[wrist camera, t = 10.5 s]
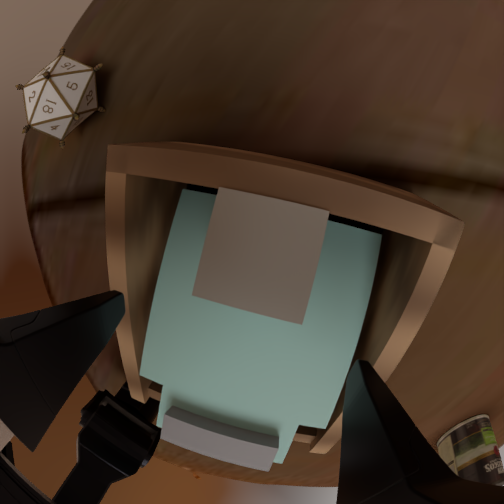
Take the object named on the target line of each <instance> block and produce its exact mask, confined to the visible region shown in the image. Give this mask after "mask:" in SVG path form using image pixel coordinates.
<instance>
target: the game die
mask: <svg viewBox="0 0 504 504" xmlns="http://www.w3.org/2000/svg"><path fill="white" fill-rule="evenodd" d="M64 52H65V49H64V47H63V46H62V48H61V49H60V56H59V57H57V58H56V59H55V60H54V61H52V62H51V63H50V64H49V65H48V66H46V67H45V68H44V69H43V70H41V71H40V72H39V73H38V74H37V75H35V76H34V77H33V78H32V79H31V80H30V81H29V82H28V83H27V84H26V85H25V86H23V85H20V84H19V85H16V88H17V90H18V89H19V90H20V89H22V90H23V97H24V105H25V111H26V117H27V123H28V125H27V126H25V127H24V128H23V132H22V133H27V131H29V128H32V129H34V130H37V131H39V132H42V133H44V134H47V135H49V136H51V137H54V138H56V139H59V140H60V143H59V144H60V147H61V148H62V149H63V148H64V145H65V144H64V143H65V142H64V138H65V137H66V136H68V135H69V134H70V133H71V132H72V131H73V130H74V129H75V128H76V127H77V126H79V125H80V124H81V123H82V122H83V121H84V120H85V119H87V118H88V117H89V116H90V115H91V114H93V113H94V112H95V111H96V110H98V111H99V112H104V111H105V109H104V107H102V106H101V107H98V98H97V87H96V71H97V70H99V69H101V67H102V65H103V64H97V65H96V66H95V67H94V68H92V67H90V66H88V65H86V64H83V63H81V62H79V61H77V60H75V59H72V58H70V57H68V56H65V55H64Z"/></svg>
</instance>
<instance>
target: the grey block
mask: <svg viewBox="0 0 504 504" xmlns="http://www.w3.org/2000/svg"><path fill="white" fill-rule="evenodd" d="M329 212H330V211H326V210H322V209H318V208H314V207H310V206H306V205H302V204H298V203H293V202H289V201H285V200H280V199H276V198H271V197H266V196H262V195H257V194H252V193H247V192H242V191H237V190H232V189H227V188H222V187H219V189H218V193H217V196H216V200H215V204H214V207H213V211H212V215H211V218H210V222H209V226H208V230H207V234H206V238H205V242H204V246H203V250H202V254H201V258H200V262H199V266H198V270H197V274H196V279H195V283H194V287H193V292H192V295H193V296H196V297H199V298H202V299H206V300H209V301H213V302H216V303H220V304H223V305H227V306H230V307H234V308H237V309H241V310H245V311H248V312H252V313H256V314H260V315H264V316H267V317H271V318H275V319H279V320H283V321H287V322H292V323H296V324H300V325H302V323H303V320H304V316H305V313H306V309H307V305H308V302H309V298H310V294H311V290H312V286H313V282H314V278H315V274H316V270H317V266H318V262H319V258H320V253H321V249H322V244H323V240H324V235H325V231H326V226H327V221H328V217H329Z"/></svg>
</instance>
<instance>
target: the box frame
mask: <svg viewBox="0 0 504 504" xmlns="http://www.w3.org/2000/svg"><path fill="white" fill-rule="evenodd" d="M187 183H189V184H195V185H200V186H206V187H211V188H217V189H219V187H222V188H227V189H232V190H237V191H242V192H247V193H252V194H257V195H262V196H266V197H271V198H276V199H280V200H285V201H289V202H293V203H298V204H302V205H306V206H310V207H314V208H318V209H322V210H326V211H330V212H329V214H333V215H337V216H341V217H345V218H349V219H352V220H356V221H360V222H363V223H367V224H370V225H374V226H377V227H381V228H384V230H383V233H382V239H381V245H380V251H379V256H378V262H377V267H376V271H375V276H374V281H373V285H372V290H371V294H370V298H369V302H368V306H367V310H366V314H365V318H364V321H363V325H362V329H361V332H360V336H359V339H358V342H357V346H356V349H355V352H354V355H353V358H352V361H351V364H350V367H349V370H348V373H347V376H348V374H349V372H350V370H351V369H352V367H353V365H354V363H355V362H356V361H357V360H358V359H361V360H367V361H369V362H370V364H371V365H372V366H373V368H374V369H375V370H376V372H377V373H378V374H379V376H380V377H381V378H382V380H383V381H384V382H386V381H387V379H388V378H389V376H390V375H391V373H392V372H393V371H394V369H395V368H396V366H397V364H398V363H399V361H400V360H401V358H402V357H403V355H404V354H405V352H406V350H407V349H408V347H409V345H410V344H411V342H412V340H413V339H414V337H415V335H416V333H417V332H418V330H419V328H420V326H421V324H422V323H423V321H424V319H425V317H426V315H427V313H428V311H429V309H430V307H431V305H432V303H433V301H434V299H435V297H436V295H437V293H438V291H439V289H440V287H441V284H442V282H443V280H444V278H445V275H446V273H447V271H448V268H449V266H450V263H451V261H452V258H453V256H454V253H455V250H456V248H457V245H458V242H459V239H460V237H461V234H462V231H463V228H464V224H465V222H463V221H462V220H460V219H458V218H457V217H455V216H453V215H452V214H450V213H448V212H447V211H445V210H443V209H441V208H439V207H438V206H436V205H434V204H432V203H430V202H429V201H427V200H425V199H423V198H421V197H419V196H417V195H415V194H413V193H411V192H408V191H405V190H402V189H399V188H396V187H393V186H390V185H387V184H384V183H380V182H377V181H374V180H371V179H367V178H364V177H360V176H357V175H353V174H350V173H346V172H342V171H339V170H335V169H331V168H327V167H323V166H319V165H315V164H310V163H306V162H302V161H297V160H292V159H288V158H283V157H278V156H273V155H268V154H262V153H257V152H251V151H245V150H239V149H233V148H226V147H219V146H211V145H204V144H195V143H186V142H176V141H168V142H139V143H122V144H110V145H108V149H107V163H106V185H105V226H106V249H107V263H108V274H109V284H110V291H112V290H117V291H119V292H122V293H123V294H124V299H125V308H126V311H125V315H124V317H123V318H122V320H121V322H120V323H119V325H118V326H117V328H116V333H117V338H118V343H119V348H120V353H121V358H122V362H123V367H124V371H125V375H126V379H127V383H128V387H129V390H130V394H131V397H132V398H134V399H136V400H138V401H140V402H142V403H144V404H145V403H146V402H147V400H148V398H149V397H151V398H154V399H156V400H158V401H160V400H161V394H162V388H163V385H162V384H159V383H157V382H154V381H152V380H150V379H147V378H145V377H143V376H141V375H140V368H141V361H142V355H143V349H144V343H145V338H146V332H147V327H148V322H149V317H150V312H151V307H152V302H153V298H154V293H155V289H156V284H157V280H158V276H159V272H160V268H161V264H162V260H163V256H164V252H165V248H166V244H167V241H168V237H169V233H170V230H171V226H172V223H173V219H174V216H175V212H176V209H177V206H178V202H179V199H180V196H181V193H182V190H183V189H186V188H187ZM347 376H346V379H345V382H344V384H343V387H342V390H341V392H340V395H339V398H338V400H337V403H336V405H335V408H334V410H333V413H332V415H331V418H330V420H329V422H328V425H327V427H326V429H323V428H316V427H309V426H303V425H299V426H298V428H297V430H296V433H295V435H294V438H293V441H299V442H305V443H311V445H310V452H313V453H321V454H326V453H327V452H328V451H329V450H330V449H331V448H332V446H333V445H334V444H335V443H336V442H337V441H338V440H339V439H340V438H341V437H342V414H343V406H344V398H345V390H346V381H347Z"/></svg>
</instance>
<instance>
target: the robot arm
mask: <svg viewBox="0 0 504 504" xmlns="http://www.w3.org/2000/svg"><path fill="white" fill-rule="evenodd" d="M125 311H126V308H125V299H124V294H123V293H122V292H119V291H117V290H112V291H108V292H104V293H101V294H97V295H93V296H90V297H86V298H82V299H79V300H75V301H71V302H68V303H64V304H60V305H56V306H53V307H49V308H45V309H42V310H41V311H40V310H38V311H34V312H31V313H27V314H23V315H18V316H13V317H7V318H1V319H0V504H99V503H100V502H101V500H102V498H103V497H104V495H105V493H106V492H107V490H108V488H109V487H110V485H111V484H112V483H114V482H117V481H119V480H122V479H124V478H126V477H129V476H131V475H133V474H135V473H136V472H137V471H138V469H139V467H141V468H143V467H144V466H145V465H146V464H147V463H148V462H149V460H150V459H151V457H152V455H153V454H154V451H155V449H156V447H157V444H158V442H159V440H160V437H161V430H162V429H161V428H158V427H157V426H155V425H154V424H152V423H153V421H154V419H155V417H156V416H157V414H158V412H159V406H160V401H158V400H156V399H154V398H151V397H149V398H148V400H147V402H146V403H145V404H144V403H142V402H140V401H138V400H136V399H134V398H132V397H131V394H130V390H129V387H128V383H127V380H126V382H125V383H124V384H123V386H122V387H121V389H120V390H119V391H118V393H117V394H116V395H115V397H114V396H113V395H111V394H110V393H109V391H107V390H106V389H105V391H104V392H103V391H100V390H99V391H98V392H97V394H96V395H95V396H94V397H93V398H92V400H90V401H89V403H88V404H87V405H85V406H84V407H83V408H82V410H81V416H82V417H81V421H80V423H79V425H81V426H82V427H83V428H82V430H81V431H80V432H79V434H78V437H77V442H76V447H77V463H76V465H75V466H74V468H73V469H72V471H71V472H70V474H69V475H68V477H67V478H66V480H65V481H64V483H63V484H62V486H61V487H60V488H59V490H58V491H57V493H56V495H55V496H54V497H53V499H52V500H51V499H50V498H48V497H47V496H46V495H45V494H44V493H42V492H41V491H40V490H39V489H38V488H37V487H36V486H35V485H33V484H32V483H31V482H30V481H29V480H28V479H27V478H26V477H25V476H24V475H23V474H22V473H21V472H20V471H19V470H18V469H17V468H16V467H15V465H14V458H13V450H12V443H11V442H10V439H11V438H12V437H13V436H14V435H15V436H16V437H17V438H18V439H19V440H20V441H21V442H22V443H23V444H24V445H25V446H26V447H27V448H28V449H29V450H30V451H32V452H33V451H34V450H35V449H36V447H37V445H38V444H39V442H40V441H41V439H42V437H43V436H44V434H45V432H46V431H47V429H48V428H49V426H50V424H51V423H52V421H53V420H54V418H55V417H56V415H57V414H58V412H59V410H60V409H61V408H62V406H63V405H64V403H65V402H66V400H67V399H68V397H69V396H70V394H71V393H72V391H73V390H74V388H75V387H76V385H77V384H78V383H79V381H80V380H81V378H82V377H83V376H84V374H85V373H86V372H87V370H88V369H89V367H90V366H91V365H92V363H93V362H94V361H95V359H96V358H97V356H98V355H99V354H100V352H101V351H102V350H103V348H104V347H105V346H106V344H107V343H108V341H109V340H110V338H111V336H112V335H113V333H114V331H115V330H116V328H117V326H118V325H119V323H120V322H121V320H122V318H123V317H124V315H125ZM336 504H504V486H498V485H492V484H486V483H480V482H475V481H470V480H466V479H463V478H461V477H459V476H458V475H456V474H455V473H454V472H453V471H452V470H451V469H450V467H449V466H448V465H447V464H446V463H445V462H444V461H443V459H442V458H441V457H440V456H439V455H438V454H437V452H436V451H435V450H434V449H433V448H432V446H431V445H430V444H429V443H428V441H427V440H426V439H425V437H424V436H423V435H422V433H421V432H420V431H419V429H418V428H417V427H416V426H415V424H414V422H413V421H412V420H411V418H410V417H409V415H408V414H407V413H406V411H405V410H404V408H403V407H402V406H401V404H400V403H399V402H398V400H397V399H396V397H395V396H394V395H393V393H392V392H391V391H390V389H389V388H388V387H387V385H386V384H385V382H384V381H383V380H382V378H381V377H380V376H379V374H378V373H377V372H376V370H375V369H374V368H373V366H372V365H371V364H370V362H369V361H367V360H361V359H358V360H357V361H356V362H355V363H354V365H353V367H352V369H351V370H350V372H349V374H348V376H347V381H346V390H345V398H344V406H343V414H342V439H341V458H340V472H339V483H338V494H337V502H336Z"/></svg>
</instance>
